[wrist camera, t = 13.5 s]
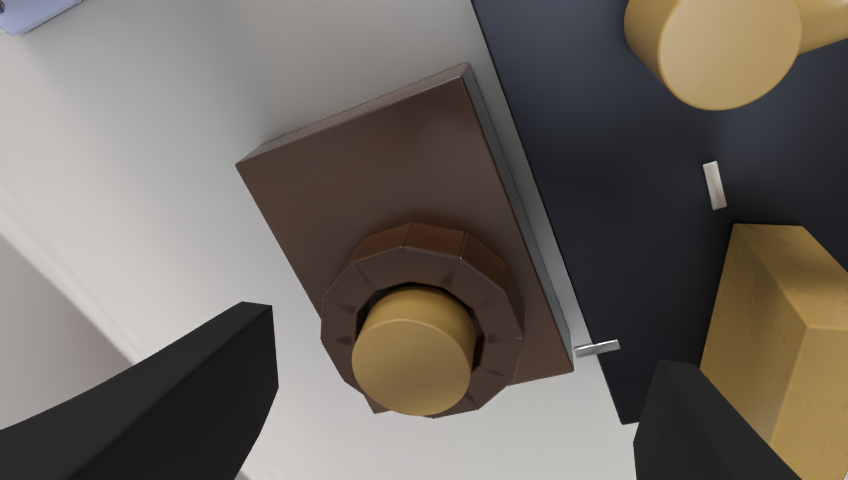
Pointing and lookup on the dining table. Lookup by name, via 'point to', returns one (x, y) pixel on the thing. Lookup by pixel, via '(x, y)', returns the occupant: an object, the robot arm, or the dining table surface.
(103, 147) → the dining table surface
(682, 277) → the plate
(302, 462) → the dining table surface
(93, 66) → the dining table surface
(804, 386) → the tan block
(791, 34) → the tap spout
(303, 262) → the block
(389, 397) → the button
